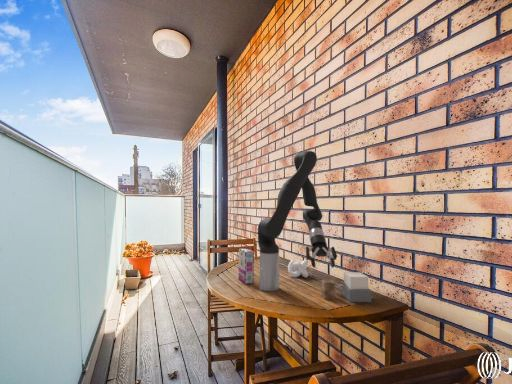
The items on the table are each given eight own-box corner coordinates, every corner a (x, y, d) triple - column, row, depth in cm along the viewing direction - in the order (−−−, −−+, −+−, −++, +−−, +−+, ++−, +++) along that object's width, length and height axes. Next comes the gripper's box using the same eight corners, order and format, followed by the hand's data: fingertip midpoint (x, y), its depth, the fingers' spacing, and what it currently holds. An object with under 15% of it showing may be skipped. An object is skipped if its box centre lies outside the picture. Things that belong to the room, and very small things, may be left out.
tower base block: (349, 302, 103) (349, 290, 103) (342, 294, 112) (342, 283, 112) (371, 302, 103) (371, 290, 103) (362, 295, 112) (362, 283, 112)
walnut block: (324, 299, 105) (324, 282, 106) (321, 295, 110) (321, 279, 110) (335, 299, 105) (334, 282, 106) (332, 296, 110) (331, 279, 110)
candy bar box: (254, 283, 128) (254, 251, 129) (245, 284, 126) (245, 251, 127) (246, 277, 138) (246, 248, 139) (238, 278, 136) (238, 248, 137)
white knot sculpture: (286, 278, 137) (286, 262, 138) (288, 273, 149) (288, 257, 149) (307, 279, 135) (307, 263, 135) (308, 274, 146) (308, 258, 147)
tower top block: (350, 289, 104) (350, 276, 105) (344, 283, 112) (343, 272, 112) (368, 289, 105) (368, 276, 105) (360, 283, 112) (360, 272, 112)
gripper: (304, 234, 126) (309, 262, 113) (332, 234, 125) (340, 262, 113) (302, 243, 130) (307, 271, 118) (330, 243, 130) (337, 271, 118)
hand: (323, 266), depth 116 cm, fingers open, 8 cm apart
